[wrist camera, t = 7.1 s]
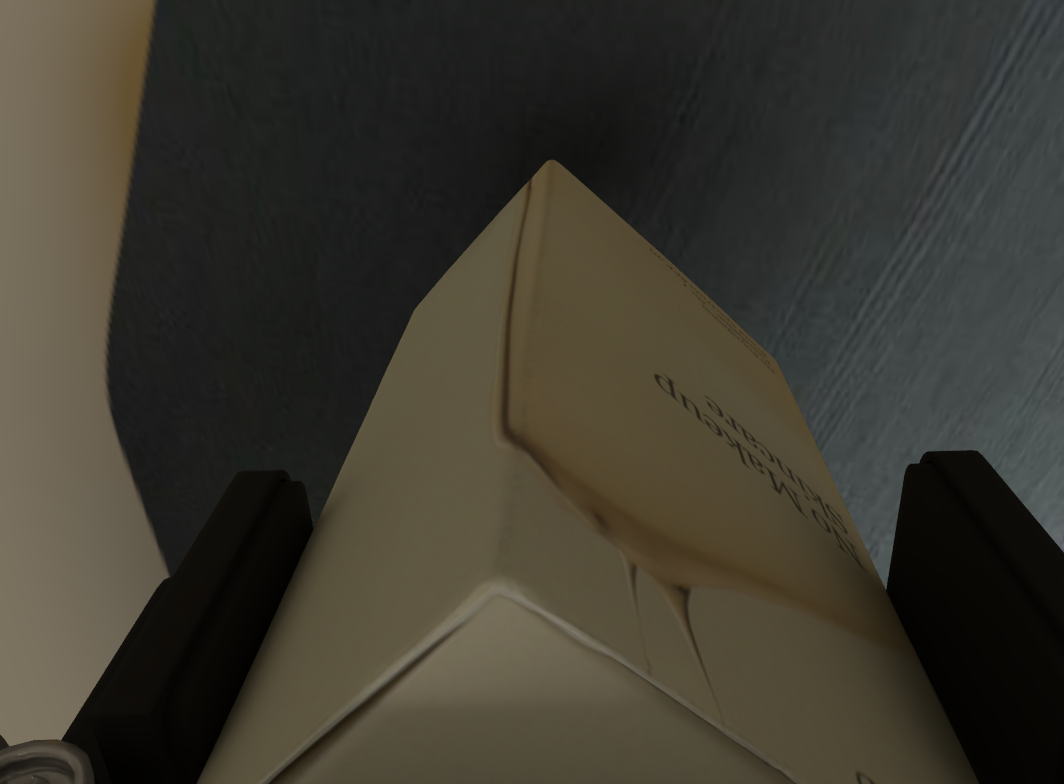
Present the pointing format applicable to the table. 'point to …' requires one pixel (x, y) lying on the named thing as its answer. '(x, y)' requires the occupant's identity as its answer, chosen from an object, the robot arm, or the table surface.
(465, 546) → the cosmetic box
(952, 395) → the table surface
